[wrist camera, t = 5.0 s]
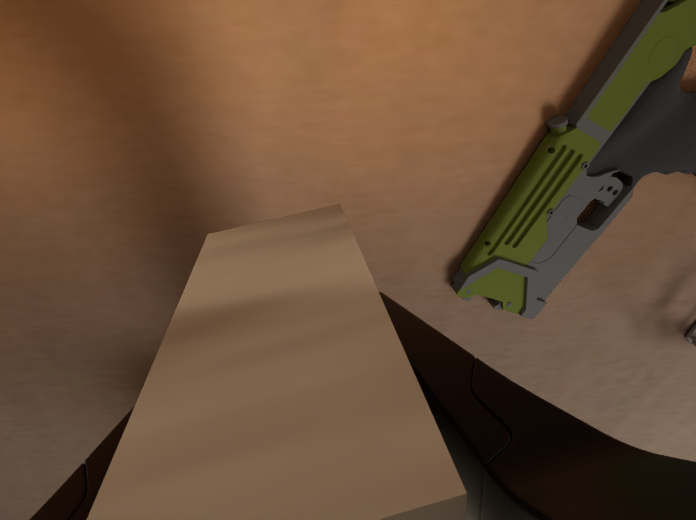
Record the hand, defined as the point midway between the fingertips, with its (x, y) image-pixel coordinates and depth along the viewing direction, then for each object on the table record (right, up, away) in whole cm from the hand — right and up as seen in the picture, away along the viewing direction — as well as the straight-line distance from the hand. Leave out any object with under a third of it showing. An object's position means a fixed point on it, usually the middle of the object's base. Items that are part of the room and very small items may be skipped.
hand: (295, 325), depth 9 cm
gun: (+18, +6, +13) cm, 23 cm away
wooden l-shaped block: (+1, -4, +5) cm, 7 cm away
